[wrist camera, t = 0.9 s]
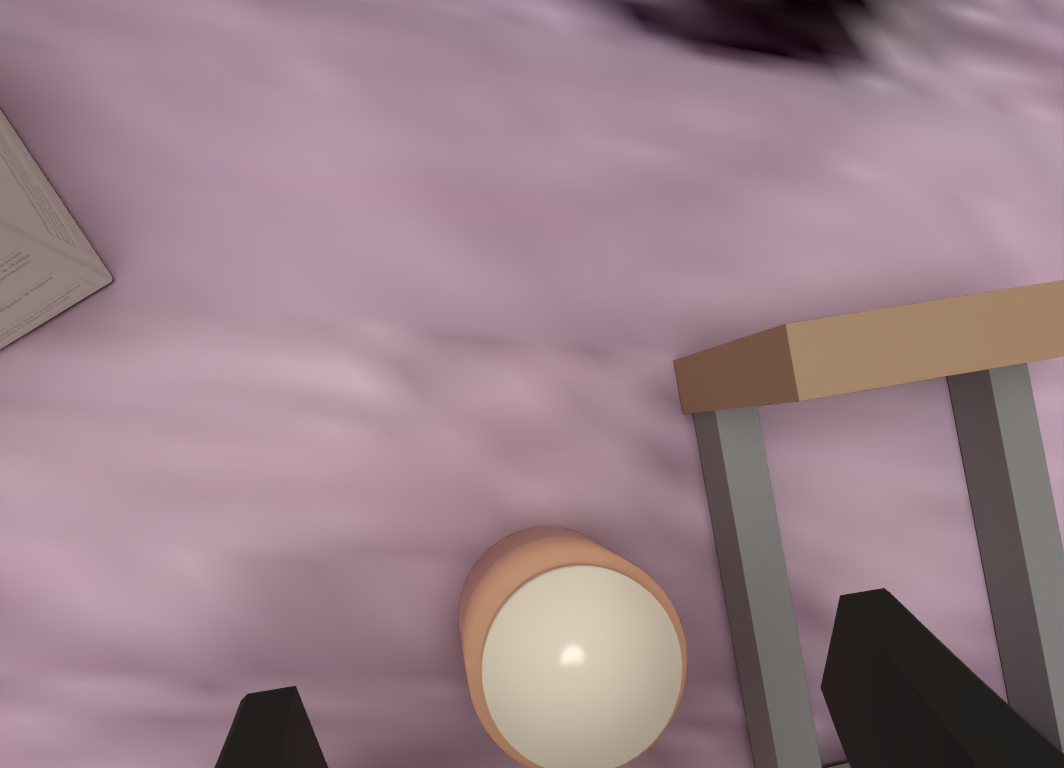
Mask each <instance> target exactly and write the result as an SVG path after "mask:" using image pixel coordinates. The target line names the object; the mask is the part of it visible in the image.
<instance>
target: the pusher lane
mask: <svg viewBox="0 0 1064 768" xmlns="http://www.w3.org/2000/svg"><path fill="white" fill-rule="evenodd" d="M1062 356H1064V280H1061V281H1055V282H1049V283H1042V284H1036V285H1030V286H1023V287H1017V288H1011V289H1004V290H998V291H991V292H985V293H979V294H972V295H966V296H960V297H953V298H947V299H941V300H934V301H928V302H922V303H915V304H909V305H902V306H896V307H890V308H883V309H877V310H871V311H864V312H858V313H852V314H845V315H839V316H833V317H826V318H820V319H813V320H807V321H801V322H794V323H788V324H784V325H781V326H778V327H775V328H772V329H768V330H765V331H762V332H759V333H756V334H753V335H750V336H747V337H744V338H741V339H738V340H735V341H732V342H729V343H726V344H723V345H720V346H717V347H714V348H711V349H708V350H705V351H702V352H699V353H696V354H693V355H690V356H687V357H684V358H681V359H678V360H675V361H674V366H675V372H676V377H677V383H678V389H679V395H680V400H681V406H682V412H683V414H687V413H693V418H694V423H695V429H696V435H697V440H698V446H699V452H700V458H701V463H702V469H703V475H704V480H705V486H706V492H707V497H708V503H709V509H710V514H711V520H712V526H713V532H714V537H715V543H716V549H717V554H718V560H719V566H720V571H721V577H722V583H723V589H724V594H725V600H726V606H727V611H728V617H729V623H730V628H731V634H732V640H733V646H734V651H735V657H736V663H737V668H738V674H739V680H740V685H741V691H742V697H743V703H744V708H745V714H746V720H747V725H748V731H749V737H750V742H751V748H752V754H753V759H754V765H755V768H822V766H821V760H820V754H819V749H818V743H817V738H816V732H815V726H814V721H813V715H812V710H811V704H810V699H809V693H808V687H807V682H806V676H805V671H804V665H803V660H802V654H801V648H800V643H799V637H798V632H797V626H796V620H795V615H794V609H793V604H792V598H791V593H790V587H789V581H788V576H787V570H786V565H785V559H784V553H783V548H782V542H781V537H780V531H779V526H778V520H777V514H776V509H775V503H774V498H773V492H772V486H771V481H770V475H769V470H768V464H767V459H766V453H765V447H764V442H763V436H762V431H761V425H760V420H759V414H758V408H757V406H760V405H769V404H778V403H787V402H797V401H803V400H809V399H815V398H821V397H827V396H833V395H839V394H845V393H850V392H856V391H862V390H868V389H874V388H880V387H886V386H892V385H897V384H903V383H909V382H915V381H921V380H927V379H933V378H939V377H944V376H947V379H948V384H949V390H950V395H951V400H952V405H953V411H954V416H955V421H956V426H957V432H958V437H959V442H960V447H961V453H962V458H963V463H964V468H965V474H966V479H967V484H968V489H969V495H970V500H971V505H972V511H973V516H974V521H975V526H976V532H977V537H978V542H979V547H980V553H981V558H982V563H983V568H984V574H985V579H986V584H987V589H988V595H989V600H990V605H991V610H992V616H993V621H994V626H995V632H996V637H997V642H998V647H999V653H1000V658H1001V663H1002V668H1003V674H1004V679H1005V684H1006V689H1007V695H1008V700H1009V705H1010V706H1011V707H1012V708H1013V709H1014V710H1015V711H1016V712H1017V713H1019V714H1020V715H1021V716H1022V717H1023V718H1024V719H1025V720H1026V721H1028V722H1029V723H1030V724H1031V725H1032V726H1033V727H1034V728H1035V729H1037V730H1038V731H1039V732H1040V733H1041V734H1042V735H1043V736H1044V737H1046V738H1047V739H1048V740H1049V741H1050V742H1051V743H1053V744H1054V745H1055V746H1056V747H1057V748H1058V749H1060V750H1061V751H1062V752H1063V753H1064V552H1063V546H1062V541H1061V536H1060V531H1059V526H1058V521H1057V516H1056V510H1055V505H1054V500H1053V495H1052V490H1051V485H1050V480H1049V474H1048V469H1047V464H1046V459H1045V454H1044V449H1043V444H1042V439H1041V433H1040V428H1039V423H1038V418H1037V413H1036V408H1035V403H1034V397H1033V392H1032V387H1031V382H1030V377H1029V372H1028V367H1027V362H1033V361H1038V360H1044V359H1050V358H1056V357H1062Z"/></svg>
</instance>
